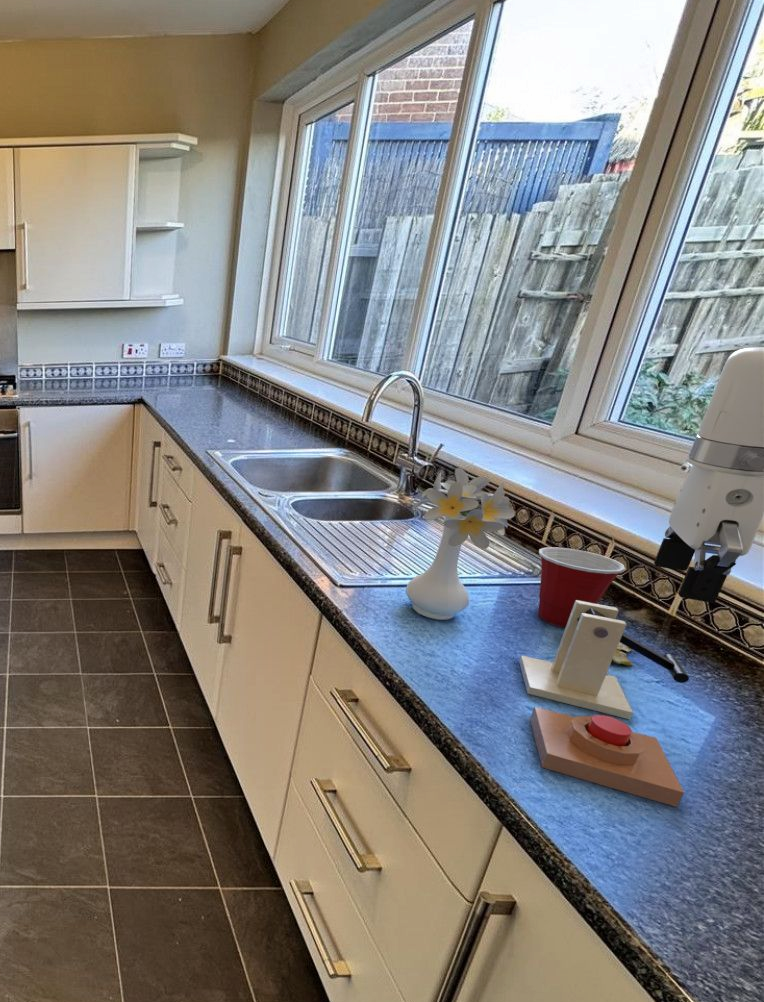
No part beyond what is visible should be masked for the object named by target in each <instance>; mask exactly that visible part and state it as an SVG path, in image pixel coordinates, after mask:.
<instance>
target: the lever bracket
mask: <svg viewBox="0 0 764 1002" xmlns="http://www.w3.org/2000/svg"><path fill="white" fill-rule="evenodd" d="M590 608H592V609H594V610H596V611H598V612H599V613H601V614H603V615H605V616H606V617H608V618H606V617H601V616H596V615H590V614H585V612H586V611H588V610H589V609H590ZM618 613H619V609H618V607H616V606H609V605H604V604H599V603H597V604H594V603H589V602H584V601H578V600H576V601H575V603H574V606H573V609H572V612H571V614H570V617H569V620H568V623H567V625H566V628H564V631H563V634H562V636H561V639H560V642H559V645H558V648H557V650H556V653H555V656H554V658H553V661H549V660H544V659H540V658H535V657H530V656H527V655H520V658H519V661H518V663H519V666H520V670H521V674H522V678H523V682H524V685H525V690H526V693H527V694H528V695H530V696H531V695H532V696H535V697H539V698H542V699H546V700H547V699H548V700H551V701H554V702H559V703H562V704H568V705H571V706H574V707H579V708H583V709H587V710H591V711H594V712H599V713H603V714H607V715H611V716H615V717H618V718H622V719H626V720H631V719H632V717H633V714H634V711H633V709H632V707H631V705H630V703H629V700H628V699H627V696H626V695H625V693H624V690H623V688H622V687H621V684H620V682H619V681H618V679H617V677H616V676H615V675H609V674H608V671H609V669H610V666H611V664H612V662H613V661H612V659H613V657H614V654H615V652H616V649H617V647H618V644H619V642H620V639H621V637H622V634H623V633H624V632H625V629H626V627H627V622H626V621H625V620H621V619H617V616H618ZM579 617H580V619H579V622H578V621H577V619H578V618H579ZM617 650H618V649H617Z"/></svg>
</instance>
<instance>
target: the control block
mask: <svg viewBox="0 0 764 1002" xmlns="http://www.w3.org/2000/svg"><path fill="white" fill-rule="evenodd" d="M593 716H594V715H577V716H573V715H569V714H565V713H562V712H558V711H554V710H550V709H546V708H542V707H539V706H534V707H533V709H532V712H531V716H530V718H529V722H530V726H531V729H532V733H533V737H534V741H535V746H536V749H537V753H538V758H539V761H540V765H541V768H543V769H547V770H550V771H553V772H555V773H560V774H564V775H566V776H570V777H573V778H576V779H580V780H582V781H587V782H591V783H594V784H596V785H597V784H598V785H600V786H602V787H603V786H604V787H606V788H611V789H615V790H617V791H621V792H624V793H628V794H631V795H634V796H637V797H641V798H645V799H647V800H650V801H651V800H652V801H654V802H657V803H661V804H665V805H667V806H668V805H669V806H672V807H675V808H678V806H679V805H680V802H681V800H682V798H683V796H684V794H685V791H684V790H683V787H682V785H681V783H680V781H679V780H678V778H677V776H676V773H675V771H674V770H673V767H672V766H671V764H670V762H669V760H668V758H667V755H666V754H665V752H664V750H663V748H662V746H661V744H660V742H659V740H658V738H657V737H654V736H650V735H646V734H642V733H639V732H635V731H632V733H631V735H630V738H629V740H628V742H627V744H626V745H625V746H615V745H612V744H608V743H605V742H603V741H601V740H599V739H597V738H595V737H593V736H592V735H591V734H590V733H589V732H588V730H587V728H588V725H589V723H590V721H591V718H592V717H593Z"/></svg>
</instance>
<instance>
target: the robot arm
mask: <svg viewBox="0 0 764 1002" xmlns="http://www.w3.org/2000/svg"><path fill="white" fill-rule="evenodd" d="M686 462H687V463H688V464H690V465H691V467H690V469H689V471H688V473H687V475H686V477H685V479H684V481H683V483H682V485H681V488H680V490H679V492H678V494H677V497H676V499H675V501H674V504H673V506H672V509H671V512H670V516H669V520H668V524H669V526H668V528H667V529H666V530H665V532H664V537H663V538H662V541H661V543H660V546H659V548H658V551H657V553H656V556H655V559H654V561H653V565H654V566H656V567H657V568H663V569H670V570H676V571H683V572H685V571H686V573H685V575H684V577H683V580H682V582H681V584H680V587H679V589H678V591H677V594H678V596H679V597H680V598H682V599H687V600H694V601H699V602H705V603H711V604H713V603H715V602H716V601H717V599H718V597H719V595H720V593H721V591H722V588H723V586H724V584H725V581H726V579H727V578H728V576H729V575H730V574H731V572H732V568H733V567H734V566H736V564H737V560H738V558H740V557H742V556H743V557H744V556H745V555H747V554H749V553H750V551H751V548H752V546H753V543H754V540H755V538H756V536H757V534H758V531H759V528H760V525H761V522H762V520H763V517H764V346H754V347H746V348H740V349H738V350H736V351H733V353H732V354H730V355H729V356H728V358H727V359H726V361H725V363H724V365H723V368H722V370H721V372H720V375H719V378H718V380H717V382H716V385H715V387H714V390H713V393H712V395H711V398H710V400H709V403H708V406H707V408H706V411H705V413H704V416H703V418H702V420H701V422H700V426H699V428H698V431H697V433H696V436H695V438H694V440H693V443H692V446H691V448H690V451H689V453H688V455H687V459H686ZM707 554H712V555H710V556H709V557H708V558H706V555H707ZM693 559H694V560H693ZM692 561H694V562H693V566H690V564H691V562H692Z"/></svg>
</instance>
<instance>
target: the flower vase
mask: <svg viewBox="0 0 764 1002" xmlns="http://www.w3.org/2000/svg"><path fill="white" fill-rule="evenodd" d="M454 475H455V479H456V481H455V480H445V482H441V481H442V472H439V474H438V475H437V477H436V478H435V481H434V482H433V487H429V488H427V489H425V490H424V491H423V492H422V494H421V496H420V497H421V499H420V500H419V501H418V502H416V504H415V505H414V506H413V507H412V508H411V510H413V509H415V508H418V507H420V506H422V505H425V504H428V503H430V502H431V503H433V504H434V505H435V506H433V507H431V508H429V509H428V510H427V511H425V513H424V515H423V518H424V519H425V520H426V521H434V520H437V519H440V518H442V517H443V528H442V534H441V538H440V540H439V543H438V547H437V551H436V554H435V556H434V558H433V561H432V563H431V565H430V566H429V567H428V568H427V569H426V570H425V571H424V572H422V573H420V574H418V575H416V576H415V577H413V578H412V579H410V581H409V582H408V583H407V584H406V587H405V594H406V597H407V598H408V600H409V601H410V602H411V603H412V605H411V606H412V609H413V610H414V612H416V613H417V614H419V615H421V616H424V617H426V618H428V619H429V618H430V619H432V620H438V621H439V620H440V621H445V620H446V621H447V620H451V619H452V618H453V617H454V615H456V614H459V613H461V612H463V611H464V610H465V609H466V608H468V607H469V604H470V594H469V592H468V590H467V588H466V586H465V585H464V584H463V583H462V581H461V580H460V578H459V577H460V576H459V572H458V564H459V557H460V552H461V548H462V544H463V543H464V542H466V540H467V539H468V538H469V539H470V541H471V542H472V543H473V544H474V546H476V547H477V548H479V549H482V550H485V549H488V548H489V546H490V541H489V538H488V536H487V534H486V533H495V532H497V534H498V535H500V536H504V535H506V534H505V533H506V528H508V527H509V523H508V520H510V519H512V518H514V517H515V516H516V511H515V510H514V509H513V508H512V507H510V498H509V497H508V496H505V490H504V487H505V486H504V485H505V484H504V481H501V482H500V484H499V485H498V488H497V489H496V490H495V491H494V492H493V493H491V492H487V491H483V490H482V489H484V488H485V487H486V486H488V485H489V483H490V480H491V479H490V478H489V477H488V476H478V477H474V478H473V479H471V480H470V481H469V475H468V474H467V473H466V471H465V470H464V469H462V468H460V467H456V469H455V470H454ZM478 500H480V502H479V501H478ZM485 532H486V533H485Z"/></svg>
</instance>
